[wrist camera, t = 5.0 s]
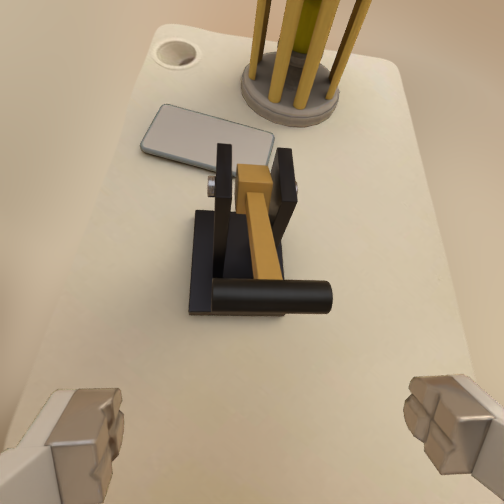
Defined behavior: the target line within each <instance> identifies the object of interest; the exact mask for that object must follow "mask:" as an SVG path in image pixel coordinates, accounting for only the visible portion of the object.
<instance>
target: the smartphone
mask: <svg viewBox="0 0 504 504" xmlns="http://www.w3.org/2000/svg"><path fill="white" fill-rule="evenodd" d="M274 139H275V137H274V135H273V134H272V133H270V132H267V131H264V130H260V129H256V128H253V127H249V126H246V125H242V124H238V123H235V122H231V121H228V120H224V119H220V118H217V117H213V116H210V115H206V114H202V113H199V112H195V111H191V110H188V109H184V108H181V107H177V106H173V105H170V104H164V105H162V106H161V107H160V109H159V111H158V112H157V114H156V116H155V118H154V120H153V122H152V123H151V125H150V127H149V129H148V131H147V132H146V134H145V136H144V138H143V140H142V141H141V143H140V147H141V150H142V151H143V152H145V153H149V154H153V155H156V156H160V157H164V158H167V159H171V160H175V161H178V162H182V163H186V164H189V165H193V166H197V167H200V168H204V169H208V170H211V171H215V172H216V156H217V143H225V144H232V176H234V177H236V167H237V164H252V165H266V166H268V162H269V158H270V155H271V151H272V147H273V143H274Z"/></svg>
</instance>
